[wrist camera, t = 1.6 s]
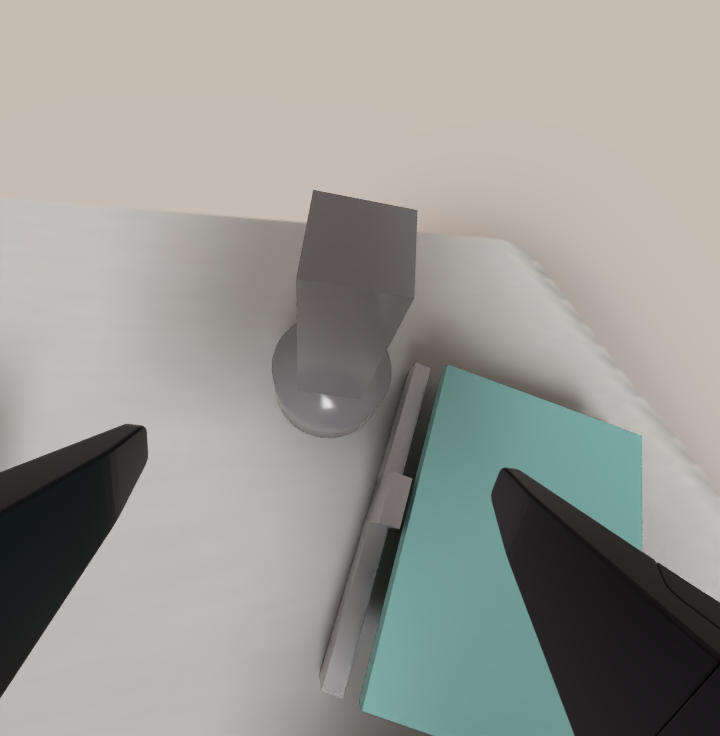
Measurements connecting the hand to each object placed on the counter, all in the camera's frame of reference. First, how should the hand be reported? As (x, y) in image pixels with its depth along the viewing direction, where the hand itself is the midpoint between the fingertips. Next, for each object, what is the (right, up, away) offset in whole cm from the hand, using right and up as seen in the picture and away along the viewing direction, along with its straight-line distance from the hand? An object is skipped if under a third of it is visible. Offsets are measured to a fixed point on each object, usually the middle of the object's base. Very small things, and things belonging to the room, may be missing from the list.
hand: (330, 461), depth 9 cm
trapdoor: (+9, -7, +10) cm, 15 cm away
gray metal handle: (-1, +1, +14) cm, 14 cm away
